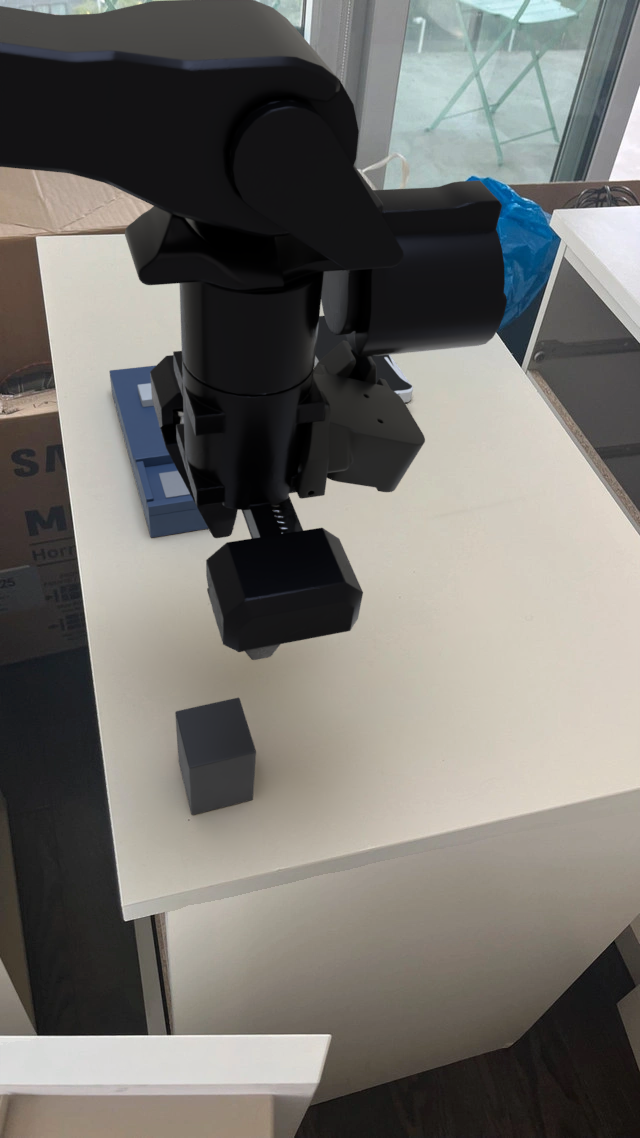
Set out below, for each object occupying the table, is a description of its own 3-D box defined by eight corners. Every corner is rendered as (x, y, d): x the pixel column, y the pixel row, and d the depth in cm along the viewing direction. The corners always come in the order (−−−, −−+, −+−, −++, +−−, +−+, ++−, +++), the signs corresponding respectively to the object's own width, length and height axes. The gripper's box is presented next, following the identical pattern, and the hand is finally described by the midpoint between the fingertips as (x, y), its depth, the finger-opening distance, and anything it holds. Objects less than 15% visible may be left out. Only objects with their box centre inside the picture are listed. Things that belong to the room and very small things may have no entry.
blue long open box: (150, 538, 69) (148, 507, 66) (111, 392, 81) (108, 360, 79) (227, 525, 71) (228, 494, 68) (178, 384, 83) (176, 353, 80)
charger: (191, 815, 53) (189, 768, 49) (178, 761, 56) (174, 710, 51) (254, 799, 54) (257, 751, 50) (238, 746, 57) (240, 696, 52)
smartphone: (359, 311, 93) (416, 391, 83) (357, 322, 94) (413, 402, 84) (293, 319, 90) (344, 402, 81) (292, 330, 91) (342, 413, 82)
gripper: (509, 473, 33) (433, 698, 44) (354, 241, 45) (325, 467, 56) (228, 515, 30) (224, 744, 41) (141, 254, 42) (156, 490, 53)
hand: (240, 592), depth 48 cm, fingers open, 9 cm apart
